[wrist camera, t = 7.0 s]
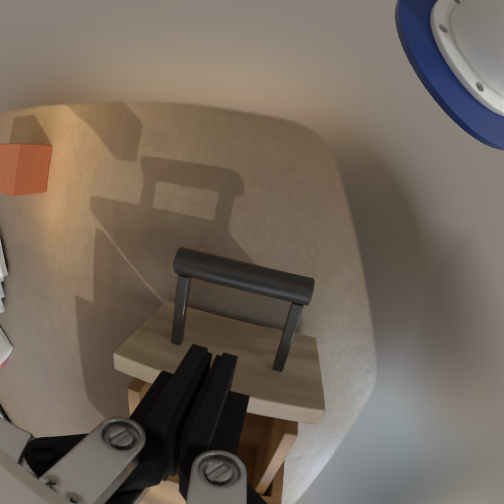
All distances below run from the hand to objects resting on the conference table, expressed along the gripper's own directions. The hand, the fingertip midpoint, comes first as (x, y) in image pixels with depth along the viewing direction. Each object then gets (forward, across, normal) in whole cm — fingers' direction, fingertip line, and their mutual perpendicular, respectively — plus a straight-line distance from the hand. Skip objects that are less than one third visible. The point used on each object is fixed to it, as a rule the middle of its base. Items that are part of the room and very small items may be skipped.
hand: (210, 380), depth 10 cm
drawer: (+10, 0, +7) cm, 12 cm away
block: (+11, +23, -5) cm, 26 cm away
